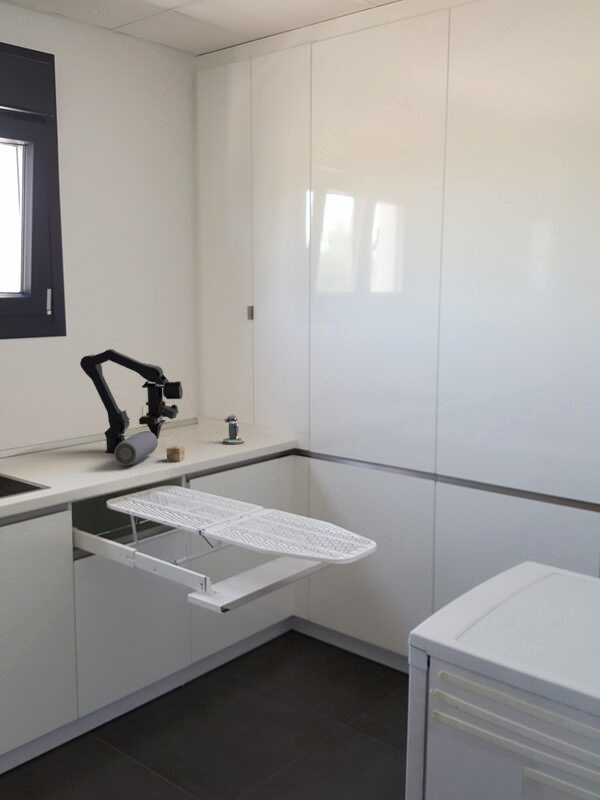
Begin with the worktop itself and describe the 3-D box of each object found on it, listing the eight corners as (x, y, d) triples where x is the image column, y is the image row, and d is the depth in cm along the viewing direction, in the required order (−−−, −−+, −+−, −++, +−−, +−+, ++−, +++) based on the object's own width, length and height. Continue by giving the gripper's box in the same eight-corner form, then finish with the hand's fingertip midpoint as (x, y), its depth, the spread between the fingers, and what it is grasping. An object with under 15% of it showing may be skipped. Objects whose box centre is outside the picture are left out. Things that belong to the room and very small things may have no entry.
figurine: (229, 445, 320) (228, 416, 318) (219, 442, 327) (218, 413, 325) (247, 443, 325) (247, 414, 323) (237, 440, 332) (237, 411, 330)
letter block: (166, 461, 292) (166, 448, 291) (171, 459, 296) (171, 445, 296) (179, 462, 291) (179, 448, 290) (184, 459, 295) (184, 445, 295)
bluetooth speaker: (136, 455, 303) (135, 429, 302) (159, 455, 302) (158, 429, 300) (112, 468, 281) (111, 440, 280) (138, 469, 280) (137, 441, 278)
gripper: (165, 403, 296) (167, 444, 298) (183, 396, 314) (184, 435, 316) (137, 402, 298) (139, 443, 300) (157, 395, 316) (158, 434, 318)
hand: (156, 439), depth 309 cm, fingers closed
